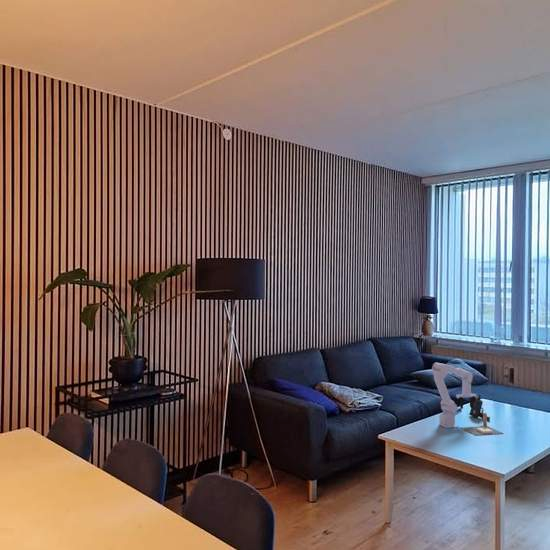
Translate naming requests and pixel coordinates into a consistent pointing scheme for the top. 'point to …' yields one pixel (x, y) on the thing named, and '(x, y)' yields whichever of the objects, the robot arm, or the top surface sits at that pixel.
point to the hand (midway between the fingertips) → (466, 407)
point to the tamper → (484, 421)
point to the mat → (477, 433)
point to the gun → (477, 409)
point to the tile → (484, 430)
